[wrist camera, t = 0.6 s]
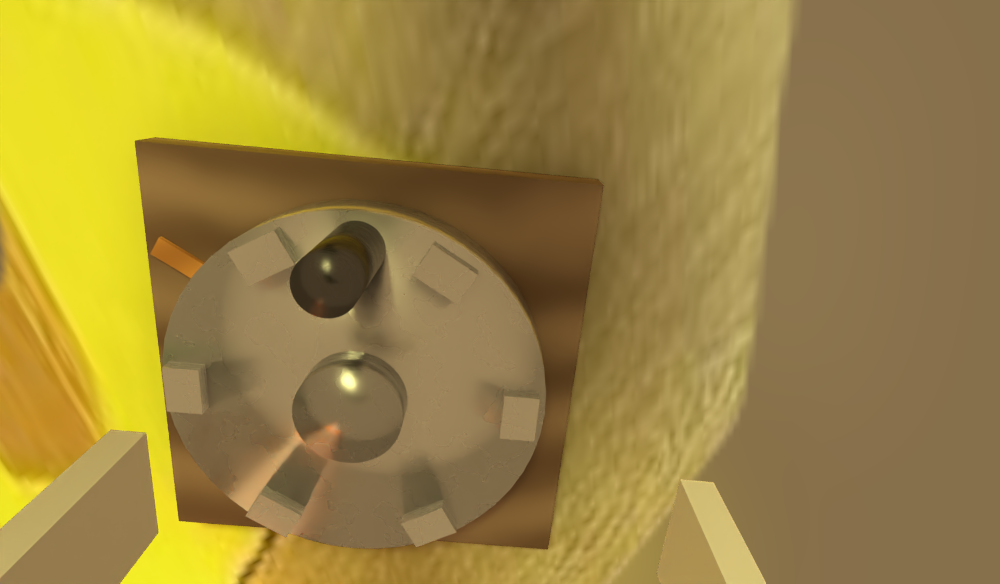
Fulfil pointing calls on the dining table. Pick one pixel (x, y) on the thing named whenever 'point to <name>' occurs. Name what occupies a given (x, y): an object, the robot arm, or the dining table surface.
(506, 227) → the base plate
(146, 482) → the robot arm
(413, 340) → the crank wheel
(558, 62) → the dining table surface
